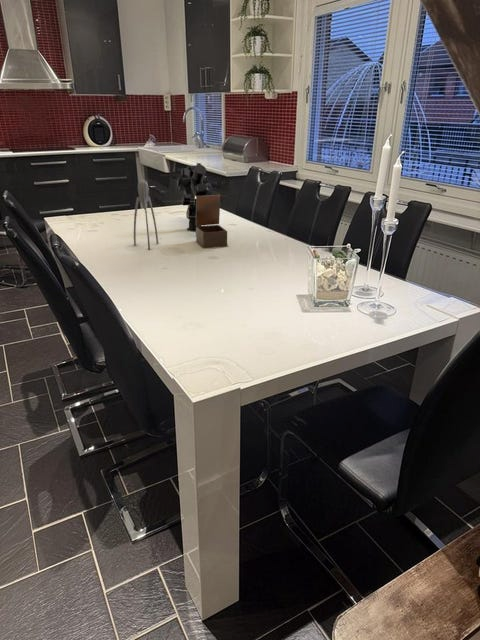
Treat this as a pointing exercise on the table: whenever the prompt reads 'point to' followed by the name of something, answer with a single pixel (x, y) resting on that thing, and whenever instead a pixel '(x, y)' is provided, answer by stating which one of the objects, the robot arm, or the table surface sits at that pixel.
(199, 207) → the door
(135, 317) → the table surface
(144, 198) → the grey three-legged stand fixture
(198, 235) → the walnut box
